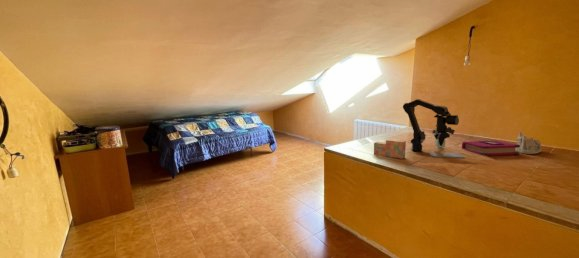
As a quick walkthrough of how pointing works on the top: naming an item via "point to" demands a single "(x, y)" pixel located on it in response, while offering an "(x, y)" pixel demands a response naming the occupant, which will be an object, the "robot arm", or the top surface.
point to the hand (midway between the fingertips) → (439, 144)
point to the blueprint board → (447, 155)
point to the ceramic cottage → (527, 145)
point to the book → (490, 148)
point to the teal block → (439, 144)
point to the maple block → (439, 150)
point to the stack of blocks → (390, 148)
